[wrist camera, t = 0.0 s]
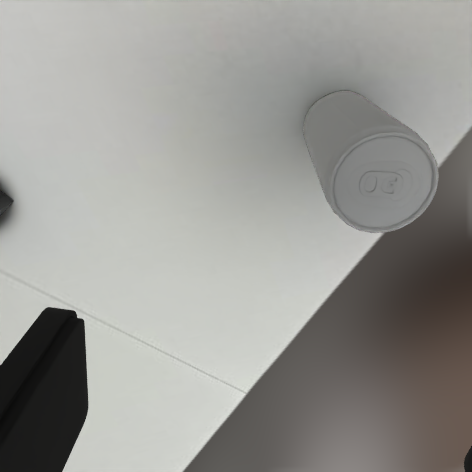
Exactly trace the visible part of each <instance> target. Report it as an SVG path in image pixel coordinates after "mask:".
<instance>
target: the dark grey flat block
mask: <svg viewBox="0 0 472 472" xmlns="http://www.w3.org/2000/svg"><path fill="white" fill-rule="evenodd" d="M12 202H13V200H12V199H10V198H9V197H8V196H7V195H6V194H4V193H3V192H2V191H1V190H0V216H1V215H2V214H3V212H4V211H5V210H6V209H7V208H8V207H9V206H10V205H11V203H12Z"/></svg>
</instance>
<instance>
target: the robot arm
mask: <svg viewBox="0 0 472 472" xmlns="http://www.w3.org/2000/svg"><path fill="white" fill-rule="evenodd" d="M87 412H88V388H87V368H86V347H85V326H84V320H83V319H80V318H77V314H76V312H75V311H73V310H65V309H58V308H51V307H48V308H46V309H45V310H44V311H43V312H42V313H41V314H40V315H39V317H38V318H37V319H36V321H35V322H34V323H33V324H32V326H31V327H30V328H29V330H28V331H27V332H26V333H25V335H24V336H23V337H22V339H21V340H20V341H19V343H18V344H17V345H16V346H15V348H14V349H13V350H12V352H11V353H10V354H9V355H8V357H7V358H6V359H5V361H4V362H3V363H2V364H1V365H0V472H62V471H63V469H64V466H65V464H66V462H67V460H68V458H69V455H70V453H71V451H72V449H73V446H74V444H75V442H76V440H77V438H78V435H79V433H80V431H81V429H82V427H83V424H84V422H85V419H86V416H87ZM464 468H465V472H472V446H471V448H470V450H469V452H468V453H467V455H466V457H465V461H464Z"/></svg>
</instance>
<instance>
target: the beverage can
mask: <svg viewBox="0 0 472 472" xmlns="http://www.w3.org/2000/svg"><path fill="white" fill-rule="evenodd" d="M303 135H304V138H305V141H306V144H307V147H308V150H309V153H310V156H311V159H312V162H313V164H314V167H315V170H316V173H317V175H318V178H319V181H320V183H321V186H322V189H323V192H324V194H325V197H326V200H327V202H328V203H329V205H330V206H331V208H332V210H333V211H334V213H336V214H337V215H338V216H339V217H340V218H341V219H342V220H343V221H344V222H345V223H346V224H348V225H349V226H351V227H353V228H355V229H358V230H360V231H365V232H370V233H383V232H389V231H393V230H396V229H400V228H402V227H403V226H406V225H407V224H409V223H411V222H413V221H414V220H415V219H416V218H417V217H419V216H420V215H421V214H422V213H423V212H424V211H425V209H426V208H427V207H428V206H429V204H430V203H431V201H432V199H433V197H434V194H435V192H436V190H437V184H438V177H439V175H438V167H437V162H436V160H435V158H434V156H433V154H432V152H431V150H430V148H429V146H428V144H427V143H426V142H425V141H424V140H423V139H422V138H421V137H420V136H419V135H418V134H417V133H416V132H414V131H413V130H411V129H410V128H408V127H407V126H405V125H404V124H402V123H401V122H400V121H398V120H397V119H395V118H394V117H392V116H391V115H389V114H388V113H386V112H385V111H383V110H382V109H381V108H379V107H378V106H376V105H375V104H373V103H372V102H370V101H369V100H367V99H366V98H365V97H363V96H361V95H359V94H357V93H356V92H351V91H346V90H345V91H338V92H334V93H331V94H329V95H326V96H324V97H323V98H321V99H319V100H318V101H317V102H316V103H315V104H314V105H313V106H312V107H311V108H310V109H309V111H308V113H307V115H306V117H305V121H304V125H303Z"/></svg>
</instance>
